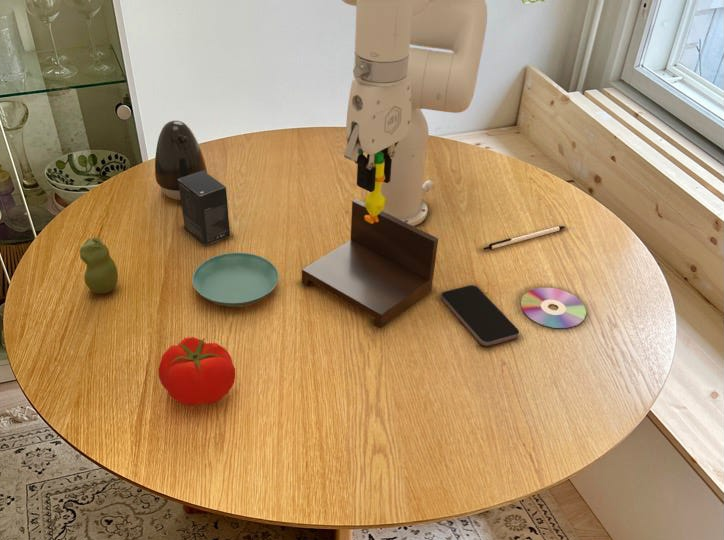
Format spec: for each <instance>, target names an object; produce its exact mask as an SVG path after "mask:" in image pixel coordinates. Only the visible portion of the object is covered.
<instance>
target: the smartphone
mask: <svg viewBox="0 0 724 540" xmlns="http://www.w3.org/2000/svg"><path fill="white" fill-rule="evenodd" d="M440 299H441V300H442V302H443V303H444V304H445V305H446V306H447V308H449V310H450V311H451V312H452V313H453V314H454V315H455V317H456V318H457V319H458V320H459V321H460V322H461V323H462V324H463V325H464V327H465V328H466V329H467V330H468V331H469V333H471V334H472V336H473V337H474V338H475V339H476V340H477V342H478V343H479V344H480V345H482V346H487V347H488V346H492V345H496V344H500V343H503V342H507V341H510V340H514V339H517V338H518V337H519V335H520V330H519V328H517V326H516V325H515V324H514V323H513V322H512V321H511V320H510V319H509V318H508V317H507V316H506V315H505V314H504V313H503V312H502V311H501V310H500V308H498V307H497V306H496V305H495V304H494V303H493V302H492V301H491V299H490V298H489V297H488V296H487V295H486V294H485V293H484V292H483V291H482V290H481V289H480V288H479V287H478V286H476V285H474V284H469V285H465V286H462V287H461V286H460V287H458V288H453V289H449V290H445V291H442V292H441V295H440Z"/></svg>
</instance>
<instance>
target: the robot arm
mask: <svg viewBox="0 0 724 540" xmlns="http://www.w3.org/2000/svg"><path fill="white" fill-rule="evenodd" d="M341 1H342V2H343V3H344V4H347V5H349V6H353V7H355V8H356V9H355V36H354V59H353V60H354V61H353V69H352V70H353V71H352V72H353V73H352V74H353V78H352V79H351V84H350V91H349V97H348V103H347V111H346V122H345V123H346V125H345V127H346V128H345V137H346V138H345V141H346V144H347V145H346V148H345V151H344V154H343V157H344V159H347V160H349V161H352V162H354V163H355V164H356V165H357V168H356V169H357V170H356V171H357V172H356V186H357V187H359V188H361V189H363V190H365V191H366V192H368V193H370V192H373V191H374V190H375V177H376V168H375V167H373V165H374V158H375V153H377V152H379V151H381V152H383V154H384V156H383V158H384V159H385V161H384V175H385V180H384V181H383V182H382V187H381V191H380V192H381V194H382V195H383V197H384V196H385V197H386V199H387V201H386V204H384V205H385V206H384V209H383V210H382V211H383V212H385V213H387V214H389V215H391V216H393V217H395V218H397V219H399V220H401V221H403V222H405V223H408V224H410V225H412V226H414V227H416V226H418V225H419V224H421V223H423V221H425V220H426V218H427V215H428V210H429V208H428V205H427V203H426V201H424V199H423V198H424V196H425V194H426V193H428V192H429V191H431V190H432V189H433V188H434V186H435V185H434V181H433V180H431V179H427V180H426V181H424V177H425V167H426V160H427V151H428V142H429V125H428V121H427V119H426V116H425V115H424V113H423V111H422V110H429V111H437V112H443V113H454V114H459V113H463V112H465V111H466V110H467V109H469V107H470V105H471V103H472V101H473V98H474V94H475V90H476V86H477V80H478V74H479V69H480V64H481V59H482V53H483V48H484V43H485V37H486V32H487V31H486V30H487V24H488V5H487V2H486V0H341ZM410 46H415V47H410ZM419 47H422V48H419ZM426 48H430V49H426ZM432 49H438V50H439V51H438V50H432ZM440 50H445V51H440ZM447 51H451V52H447ZM364 153H366V154H367V155H365V154H364Z"/></svg>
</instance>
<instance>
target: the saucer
mask: <svg viewBox="0 0 724 540" xmlns="http://www.w3.org/2000/svg"><path fill="white" fill-rule="evenodd" d="M279 279H280V273H279V271H278V268H277V267H276V266H275V264H274V263H273V262H271V261H270V260H269V259H267V258H265V257H263V256H260V255H257V254H254V253H250V252H227V253H221V254H218V255H215V256H212V257H210V258H208V259H206V260H204V261H203V262H201V263H200V264H199V265H198V266H197V267H196V268H195V269H194V271H193V273H192V277H191V283H192V285H193V288H194V289H195V291H196V292H197V293H198V294H199V295H200V296H201V297H203V298H204V299H206V300H207V301H209V302H210V303H213V304H216V305H218V306H222V307H228V308H242V307H247V306H250V305H251V306H252V305H253V304H256V303H259V302H260V301H262V300H263V299H264V298H267V296H268V295H270V294H271V292H272V291H273V290H274V289H275V288H276V286H277V285H278V282H279Z"/></svg>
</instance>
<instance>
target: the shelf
mask: <svg viewBox="0 0 724 540" xmlns="http://www.w3.org/2000/svg"><path fill="white" fill-rule="evenodd" d="M364 205H365V201H363V200H360V199H358V198H355V199H353V200H352V201H351V218H350V219H351V221H350V239H349V240H348V241H346V242H344V243H343V244H341V245H340V246H338V247H336V248H335V249H333V250H332V251H330V252H328V253H326V254H325V255H323V256H321V257H320V258H318V259H316V260H315V261H313V262H312V263H310V264H308V265H307V266H304V267H303V268H302V269H301V284H302V285H304V286H306V287H310V286H311V285H313V284H314V285H316V286H318V287H320V288H321V289H323V290H325V291H327V292H328V293H331V295H333V296H335V297H337V298H338V299H340V300H342V301H344V302H345V303H347V304H349V305H351V306H352V307H354V308H356V309H358V310H360V311H361V312H363V313H365V314H366V315H367V316H369V317H371V318H373V326H374V327H376V328H378V329H379V330H381V329H382V328H384V327H385V326H386V325H388V324H390V322H392V321H393V320H395V319H396V318H397V317H399V316H400V315H402V314H403V313H404V312H405V311H407V310H409V309H410V308H411V307H412V306H414V305H415V304H416V303H418V302H419V301H421V300H422V299H424V298H425V297H426V296H428V295H429V294H430V293H432V288H433V281H434V274H435V267H436V260H437V252H438V245H439V238H438V237H436V236H434V235H433V234H431V233H428V232H426V231H424V230H421V229H420V228H417V227H416V226H412V225H410V224H408V223H405V222H403V221H401V220H399V219H397V218H395V217H393V216H391V215H389V214H387V213H385V212H383V211H381V212H380V213H379V214H378V215H377V217H378V220H379V222H375V221H374V223H372V224H371V223H369V222H367V221H366V220H365V218H364V216H365V215H370V214H369V212H368V211H367V209H366V207H365V206H364Z"/></svg>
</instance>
